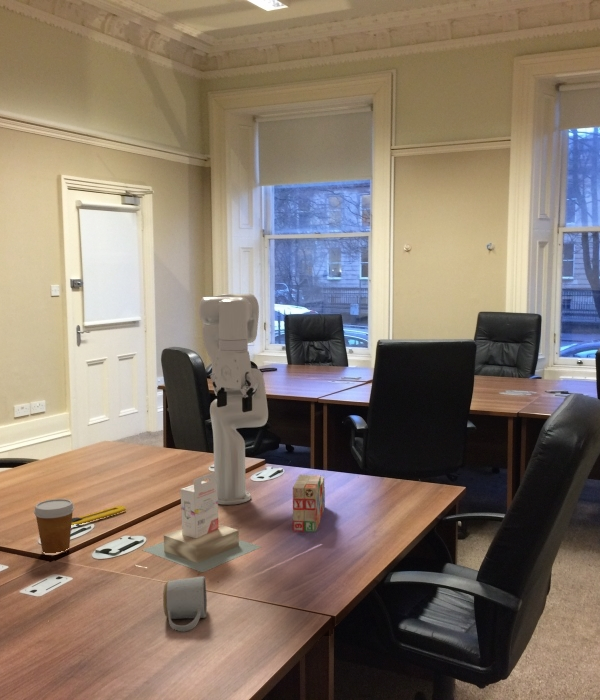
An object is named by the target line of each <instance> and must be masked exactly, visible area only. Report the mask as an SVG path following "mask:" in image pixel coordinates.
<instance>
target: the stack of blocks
mask: <svg viewBox="0 0 600 700" xmlns="http://www.w3.org/2000/svg"><path fill="white" fill-rule="evenodd" d="M325 489H326V488H325V477H324V476H321V475H320V474H299V475H298V477H297V479H296V481H295V482H294V484H293V486H292V518H293V519H292V531H293V532H306V533H307V532H308V533H317V529H318V528H319V525H320V523H321V519H322V515H323V513H324V510H325V507H326V503H325V501H326V500H325V499H326V495H325V494H326V491H325Z"/></svg>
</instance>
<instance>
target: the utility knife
mask: <svg viewBox="0 0 600 700" xmlns="http://www.w3.org/2000/svg"><path fill="white" fill-rule="evenodd" d="M125 510H126V511H127V509H126V506H124V505H117V506H113V507H110V508H109V507H108V508H105V509H103V510H99V511H96V512H93V513H90V514H85V515H81V516H78V517H77V516H76V517H72V524H71V525H74V524H82V523H86V522H90V521H93V520H96V519H100V518H104V517H107V516H111V515H114V514H117V513H120V512H122V511H125Z"/></svg>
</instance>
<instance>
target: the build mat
mask: <svg viewBox="0 0 600 700" xmlns="http://www.w3.org/2000/svg"><path fill="white" fill-rule="evenodd" d="M260 548H262V546H261V545H257V544H254V543H251V542H249V541H244V540H241V539H239V546H237V547H234V548H232V549H230V550H227V551H225V552H222V553H220V554H218V555H215V556H213V557H210V558H208V559H206V560H203V561H201V562H198V563H196V562H193V561H191V560H188V559H185V558H182V557H179V556H177V555H174V554H171V553H168V552H165V551H164V541H162V542H159V543H156V544H154V545H151V546H148V547H146V548H143V549H141V551H144V552H146V553H148V554H151V555H154V556H155V557H156V556H157V557H159V558H162V559H164V560H167V561H170V562H173V563H175V564H178V565H181V566H184V567H187V568H189V569H191V570H194V571H198V572H199V573H204V572H207V571H210V570H212V569H213V568H217V567H218V566H222V565H223V564H226V563H228V562H229V561H232V560H235V559H237V558H239V557H242V556H243V555H246V554H249V553H250V552H254V551H255V550H258V549H260Z"/></svg>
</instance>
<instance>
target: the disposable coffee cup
mask: <svg viewBox="0 0 600 700" xmlns="http://www.w3.org/2000/svg"><path fill="white" fill-rule="evenodd" d="M74 510H75V505H74V504H73V501H72V500H70V499H67V498H53V499H48V500H43V501H40V502H38V503H36V504H35V507H34V510H33V514H34V516H35V518H36V522H37V528H38V534H39V539H40V545H41V551H43V552H45V553H56V552H61V551H65V550H66V549H68V548H69V549H70V546H71V544H70V543H71V534H72V529H71V524H72V518H73V512H74ZM43 552H42V553H43Z"/></svg>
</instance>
